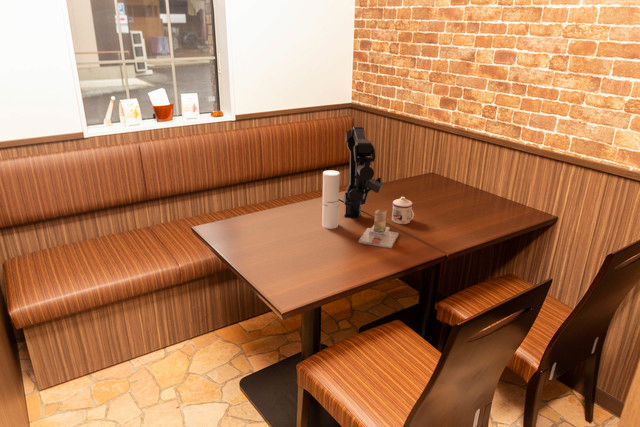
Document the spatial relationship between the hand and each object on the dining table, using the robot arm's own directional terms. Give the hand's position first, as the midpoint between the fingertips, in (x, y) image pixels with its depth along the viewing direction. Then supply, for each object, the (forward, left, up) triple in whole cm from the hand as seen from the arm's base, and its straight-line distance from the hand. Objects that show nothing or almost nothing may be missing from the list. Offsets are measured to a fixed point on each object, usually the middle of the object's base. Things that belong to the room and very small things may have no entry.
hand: (360, 207), depth 196 cm
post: (+9, 0, -8) cm, 12 cm away
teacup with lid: (+15, +22, -13) cm, 30 cm away
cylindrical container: (-15, +5, -13) cm, 21 cm away
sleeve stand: (+9, 0, -13) cm, 16 cm away
